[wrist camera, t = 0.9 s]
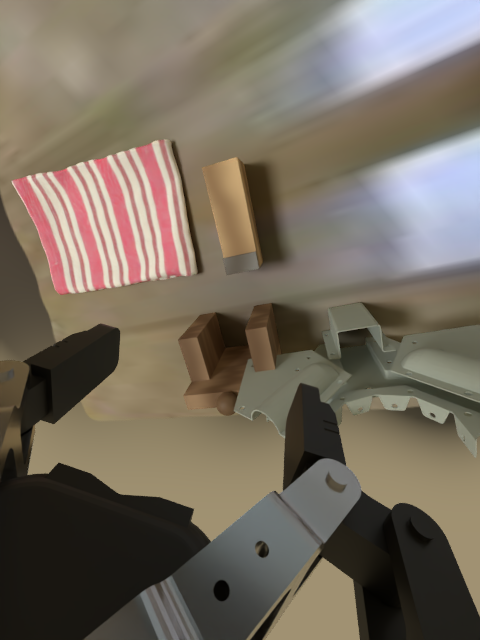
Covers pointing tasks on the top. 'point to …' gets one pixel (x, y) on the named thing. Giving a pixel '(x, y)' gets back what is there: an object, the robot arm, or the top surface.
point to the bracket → (375, 374)
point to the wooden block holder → (226, 358)
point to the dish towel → (112, 220)
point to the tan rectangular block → (233, 215)
